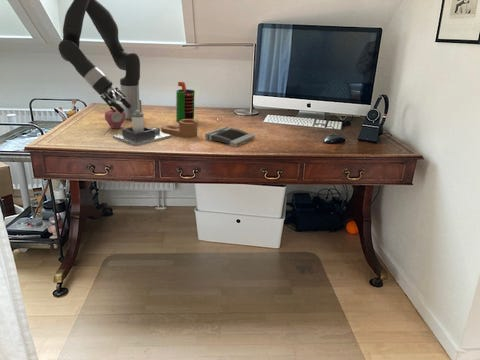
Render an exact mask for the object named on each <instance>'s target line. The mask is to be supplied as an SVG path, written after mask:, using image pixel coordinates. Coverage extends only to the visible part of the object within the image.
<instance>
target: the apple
mask: <svg viewBox="0 0 480 360" xmlns="http://www.w3.org/2000/svg"><path fill="white" fill-rule="evenodd" d="M109 109H110V110H108V111H107V110H106V111H105V112H104V119H105V121H106V122H107V124H108V125H109V127H110V128H111V129H119V128H121V127H122V125H123V123H124V122H125V120H126V119H125V116H126V114H125V111H123V112H122V113H120V112H119V111H118V110H117V109H116V108H114V107H112V106H111V107H110V106H109Z"/></svg>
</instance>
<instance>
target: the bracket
mask: <svg viewBox="0 0 480 360" xmlns="http://www.w3.org/2000/svg"><path fill="white" fill-rule="evenodd" d="M160 128H161V129H160V131H161V132H164V133H167V134H170V135H172V136H173V137H179V138H183V139H194V138H196V137H198V120H196V119H194V120H193V119H182V120H181V121H179V122H178V125H176V124H164V125H161V127H160Z"/></svg>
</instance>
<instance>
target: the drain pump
mask: <svg viewBox="0 0 480 360" xmlns="http://www.w3.org/2000/svg"><path fill="white" fill-rule="evenodd" d="M131 127H132V131H133V132H135V133H139V132H143V131H144V127H145V120H144V113H143V112H142V113H140V110H135V113H132V119H131Z"/></svg>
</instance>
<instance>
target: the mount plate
mask: <svg viewBox="0 0 480 360" xmlns="http://www.w3.org/2000/svg"><path fill="white" fill-rule="evenodd" d="M160 128H161V127H158V126H151V127H147V126H144V131H143V132H139V133H135V132H133V131H132V126H130V127H125V128H122V129H121V133H118V134H113V135H112V138H113V139H116V140H118V141H121V142H123V143H126V144H128V145H131V146H134V147H135V146H140V145H144V144H149V143H153V142H157V141H158V142H159V141H162V140H167V139H170V138H172V135H170V134H167V133H164V132H161V129H160Z"/></svg>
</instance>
